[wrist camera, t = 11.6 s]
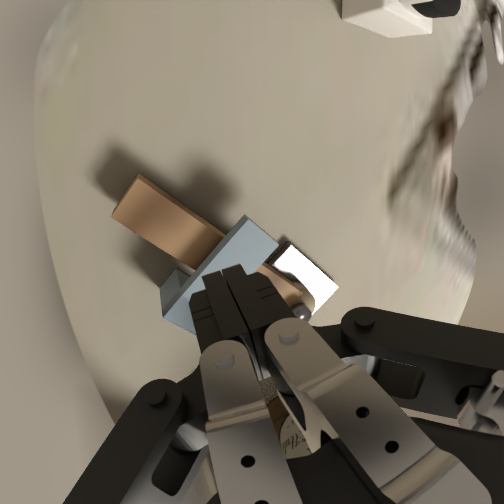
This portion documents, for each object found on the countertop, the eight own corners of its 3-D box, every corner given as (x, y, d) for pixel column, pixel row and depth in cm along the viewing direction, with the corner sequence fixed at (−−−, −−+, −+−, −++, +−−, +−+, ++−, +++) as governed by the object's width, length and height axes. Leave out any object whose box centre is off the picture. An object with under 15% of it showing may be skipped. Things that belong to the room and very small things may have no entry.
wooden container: (337, 369, 49) (406, 466, 30) (330, 411, 56) (381, 492, 37) (255, 398, 46) (310, 515, 27) (263, 436, 53) (305, 528, 34)
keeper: (188, 305, 34) (196, 335, 29) (159, 288, 32) (162, 318, 27) (260, 224, 32) (279, 244, 28) (233, 201, 30) (248, 219, 26)
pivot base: (282, 336, 40) (297, 360, 36) (228, 305, 35) (240, 331, 31) (334, 283, 39) (354, 303, 35) (287, 241, 34) (307, 261, 30)
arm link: (315, 293, 37) (323, 302, 35) (288, 322, 38) (295, 332, 36) (142, 168, 25) (141, 173, 23) (110, 214, 25) (108, 221, 24)
